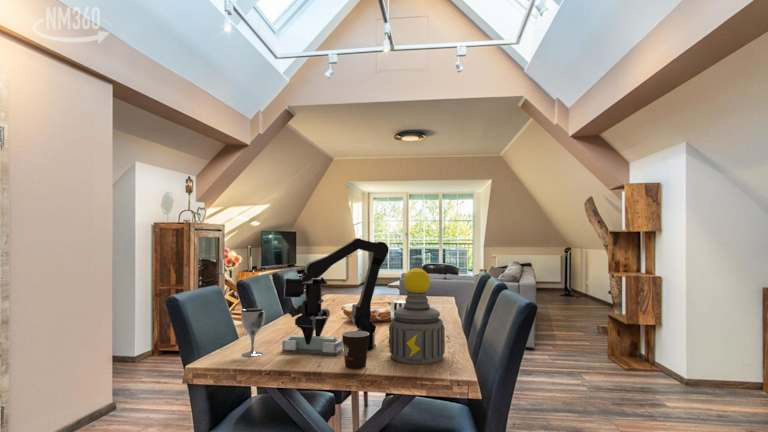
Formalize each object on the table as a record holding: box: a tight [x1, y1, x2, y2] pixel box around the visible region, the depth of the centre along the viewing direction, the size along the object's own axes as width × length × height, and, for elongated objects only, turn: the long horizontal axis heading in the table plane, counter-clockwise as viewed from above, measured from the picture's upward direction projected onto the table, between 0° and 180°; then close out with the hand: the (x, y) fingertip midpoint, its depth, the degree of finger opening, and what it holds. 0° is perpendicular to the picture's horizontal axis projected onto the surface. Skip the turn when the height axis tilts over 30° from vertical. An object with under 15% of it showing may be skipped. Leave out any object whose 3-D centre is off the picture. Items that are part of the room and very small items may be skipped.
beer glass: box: [390, 299, 406, 320], centre depth 168 cm, size 7×7×15 cm
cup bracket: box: [281, 336, 344, 357], centre depth 150 cm, size 20×7×4 cm, turn 78°
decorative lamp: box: [388, 267, 446, 365], centre depth 144 cm, size 19×19×30 cm
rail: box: [289, 334, 337, 350], centre depth 150 cm, size 16×3×4 cm, turn 77°
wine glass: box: [240, 307, 266, 358], centre depth 146 cm, size 8×8×15 cm
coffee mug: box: [341, 330, 369, 370], centre depth 134 cm, size 12×9×10 cm
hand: (312, 341), depth 150 cm, fingers open, 9 cm apart
